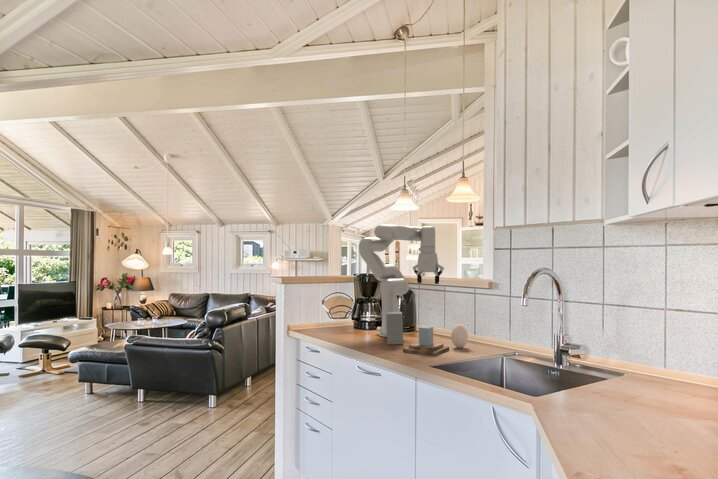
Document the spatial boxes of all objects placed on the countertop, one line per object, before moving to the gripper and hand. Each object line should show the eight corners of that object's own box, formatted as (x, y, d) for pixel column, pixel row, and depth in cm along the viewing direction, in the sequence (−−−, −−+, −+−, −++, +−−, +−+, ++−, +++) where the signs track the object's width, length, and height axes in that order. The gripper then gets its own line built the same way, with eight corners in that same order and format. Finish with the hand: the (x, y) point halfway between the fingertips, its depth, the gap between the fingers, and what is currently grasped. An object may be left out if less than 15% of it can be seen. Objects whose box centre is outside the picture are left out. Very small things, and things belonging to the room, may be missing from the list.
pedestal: (402, 351, 204) (402, 345, 204) (418, 346, 217) (418, 340, 217) (434, 356, 195) (434, 349, 195) (449, 350, 208) (449, 343, 208)
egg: (449, 348, 212) (449, 324, 212) (453, 345, 219) (453, 322, 219) (465, 350, 208) (465, 325, 209) (469, 347, 215) (469, 323, 216)
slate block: (418, 344, 206) (418, 327, 206) (423, 343, 210) (423, 326, 210) (428, 346, 203) (428, 328, 203) (433, 344, 207) (433, 327, 207)
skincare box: (403, 342, 227) (402, 311, 227) (403, 345, 220) (403, 313, 220) (386, 342, 228) (386, 311, 228) (386, 344, 221) (386, 312, 221)
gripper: (409, 250, 230) (409, 283, 229) (440, 250, 220) (440, 284, 219) (416, 250, 236) (416, 282, 235) (446, 250, 226) (446, 283, 226)
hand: (428, 283), depth 227 cm, fingers open, 9 cm apart
